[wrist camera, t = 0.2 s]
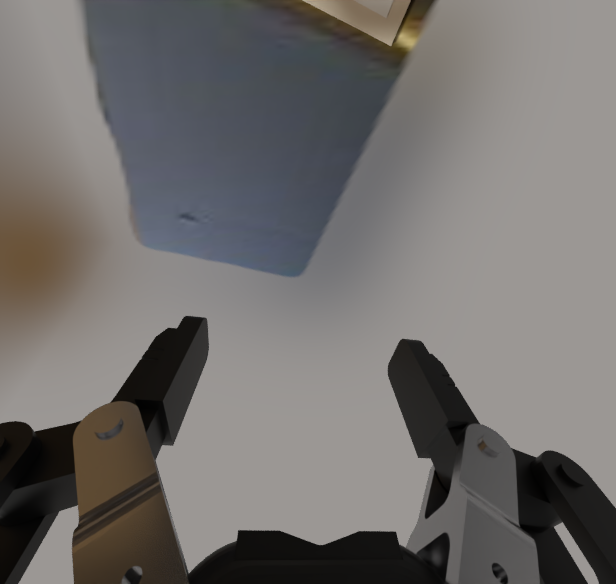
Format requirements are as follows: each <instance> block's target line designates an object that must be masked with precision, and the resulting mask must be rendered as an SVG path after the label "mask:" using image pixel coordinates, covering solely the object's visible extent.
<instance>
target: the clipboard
mask: <svg viewBox="0 0 616 584" xmlns="http://www.w3.org/2000/svg"><path fill="white" fill-rule="evenodd" d="M303 1H305V2H307V3H309V4H311V5H313V6H315V7H317V8H319V9H320V10H322V11H324V12H326V13H328V14H330V15H332V16H334V17H336V18H338V19H340V20H342V21H344V22H346V23H347V24H349V25H351V26H353V27H355V28H357V29H359V30H361V31H363V32H365V33H367V34H369V35H371V36H373V37H374V38H376V39H378V40H380V41H382V42H384V43H386V44H388V45H390V46H391V45H392V42H393V40H394V38H395V35H396V33H397V31H398V29H399V26H400V24H401V22H402V19H403V17H404V15H405V13H406V10H407V8H408V6H409V3H410V1H411V0H303Z"/></svg>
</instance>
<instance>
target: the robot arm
mask: <svg viewBox="0 0 616 584" xmlns="http://www.w3.org/2000/svg"><path fill="white" fill-rule="evenodd" d="M208 350H209V343H208V326H207V319H206V318H202V317H193V316H185V317H184V318H183V319H182V321H181V323H180V325H179V326H178V328H177V329H175V328H167V329H166V330H165V331H163V332H162V333H160V334H159V335H158V336H156V337H155V339H154V340H153V342H152V343H151V345H150V346H149V348H148V350H147V351H146V352H145V354H144V355H143V356H142V359H141V360H140V361H139V362H138V364H137V366H136V367H135V368H134V370H133V371H132V373H131V374H130V376H129V377H128V378H127V380H126V381H125V383H124V384H123V386H122V387H121V389H120V390H119V392H118V393H117V395H116V396H115V397H114V399H113V400H112V401H111V402H110V403H108V404H105V405H103V406H101V407H99V408H97V409H95V410H94V411H92V412H91V413H90V414H88V415H87V416H86V417H85V418H84V419H83V420H82V421H79V422H76V423H72V424H67V425H63V426H58V427H54V428H49V429H44V430H40V431H35V432H34V431H33V429H32V428H31V427H30V426H29V425H28V424H26V423H24V422H17V421H14V422H6V423H1V424H0V584H18V583H19V581H20V580H21V578H22V576H23V574H24V572H25V571H26V569H27V567H28V566H29V564H30V562H31V560H32V559H33V557H34V555H35V553H36V551H37V550H38V548H39V546H40V544H41V543H42V541H43V539H44V537H45V536H46V534H47V532H48V530H49V528H50V527H51V525H52V523H53V522H54V520H55V518H56V516H57V515H58V513H59V511H61V510H64V509H67V508H70V507H74V506H77V505H78V510H79V524H78V527H77V528H76V529H75V530H74V533H73V538H72V558H73V574H74V584H588V583H587V581H586V580H585V578H584V576H583V575H582V573H581V571H580V570H579V568H578V567H577V565H576V563H575V562H574V560H573V558H572V557H571V555H570V553H569V552H568V550H567V548H566V547H565V545H564V543H563V542H562V540H561V538H560V537H559V535H558V534H557V532H556V530H555V529H554V526H556V525H558V524H560V523H562V522H563V523H564V525H565V526H566V528H567V530H568V531H569V533H570V534H571V536H572V537H573V539H574V540H575V542H576V544H577V545H578V547H579V548H580V550H581V551H582V553H583V555H584V556H585V557H586V559H587V561H588V562H589V564H590V565H591V567H592V569H593V570H594V572H595V574H596V576H597V578H598V581H599V584H616V508H615V507H614V506H613V505H612V503H611V502H610V501H609V500H608V498H607V497H606V496H605V495H604V493H603V492H602V491H601V490H600V488H599V487H598V486H597V485H596V483H595V482H594V481H593V480H592V478H591V477H590V476H589V475H588V474H587V473H586V472H585V471H584V470H583V469H582V468H581V467H580V466H579V465H578V464H576V463H575V462H574V461H573V460H571V459H570V458H568V457H566V456H565V455H562V454H560V453H558V452H555V451H545V452H543V453H542V454H541V455H540V456H539V457H537V458H536V457H533V456H530V455H528V454H525V453H523V452H520V451H517V450H515V449H512V448H510V446H509V445H508V443H507V442H506V441H505V440H504V439H503V438H502V437H501V436H500V435H499V434H498V433H497V432H495V431H494V430H492V429H491V428H489V427H487V426H484V425H481V424H480V423H479V422H478V420H477V419H476V417H475V415H474V414H473V412H472V411H471V409H470V407H469V406H468V404H467V403H466V401H465V399H464V398H463V396H462V395H461V393H460V391H459V390H458V388H457V387H455V383H454V382H453V380H452V379H451V378H450V377H449V374H448V372H447V370H446V369H445V367H444V365H443V364H442V363H441V362H440V361H439V360H438V359H437V358H436V357H435V356H434V355H433V354H429V352H428V351H427V349H426V347H425V346H424V344H423V343H422V342H421V341H418V340H409V339H402V340H400V342H399V343H398V346H397V348H396V350H395V352H394V354H393V356H392V358H391V360H390V362H389V365H388V377H389V380H390V382H391V385H392V388H393V390H394V393H395V396H396V399H397V401H398V404H399V407H400V409H401V412H402V415H403V417H404V420H405V423H406V426H407V428H408V431H409V434H410V437H411V439H412V442H413V445H414V447H415V450H416V453H417V455H418V458H431V460H432V462H433V466H432V467H431V469H430V473H429V477H428V481H427V485H426V489H425V494H424V498H423V502H422V506H421V510H420V515H419V519H418V522H417V524H416V527H415V529H414V530H413V532H412V534H411V536H410V538H409V541H408V543H407V546H406V548H405V547H403V546H401V545H399V542H398V538H397V534H396V532H380V531H379V532H378V531H377V532H376V531H371V532H370V531H359V532H356V533H354V534H351V535H349V536H346V537H344V538H341V539H338V540H336V541H333V542H331V543H328V544H325V545H316V544H314V543H311V542H308V541H305V540H303V539H300V538H297V537H295V536H292V535H289V534H287V533H284V532H281V531H247V530H240V531H238V538H237V541H236V542H233V543H230V544H227V545H225V546H224V547H222V548H220V549H218V550H216V551H215V552H213V553H212V554H210V555H209V556H208V557H206V558H205V559H204V560H203V561H202V562H200V563H199V564H198V565H197V566H196V567H195V568H194V569H193V570H192V571H191V572H190V573H188V570H187V566H186V563H185V559H184V556H183V552H182V549H181V546H180V542H179V539H178V536H177V532H176V529H175V526H174V522H173V519H172V516H171V512H170V509H169V505H168V502H167V499H166V495H165V492H164V489H163V485H162V482H161V478H160V475H159V471H158V468H157V465H156V461H155V460H156V458H157V455H158V453H159V451H160V448H161V446H162V445H173V444H174V442H175V439H176V437H177V434H178V431H179V429H180V427H181V424H182V421H183V419H184V416H185V414H186V411H187V409H188V406H189V404H190V401H191V399H192V396H193V393H194V391H195V388H196V386H197V383H198V381H199V378H200V376H201V373H202V371H203V368H204V366H205V363H206V360H207V356H208Z"/></svg>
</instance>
